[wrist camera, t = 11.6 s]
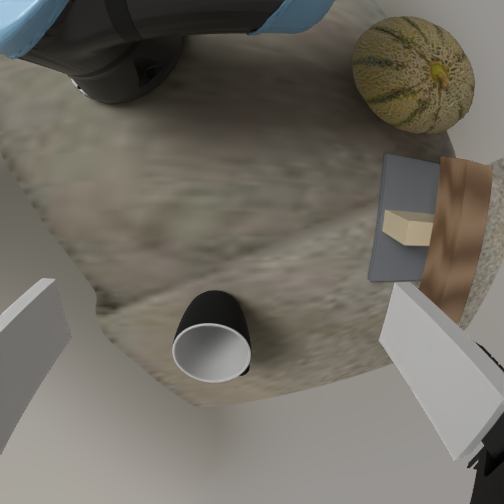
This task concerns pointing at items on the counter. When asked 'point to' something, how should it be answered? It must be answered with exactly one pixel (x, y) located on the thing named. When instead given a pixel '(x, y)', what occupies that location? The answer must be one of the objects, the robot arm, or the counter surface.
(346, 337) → the counter surface
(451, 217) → the beam
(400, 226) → the fulcrum
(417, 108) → the cantaloupe
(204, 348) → the mug
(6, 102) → the counter surface
